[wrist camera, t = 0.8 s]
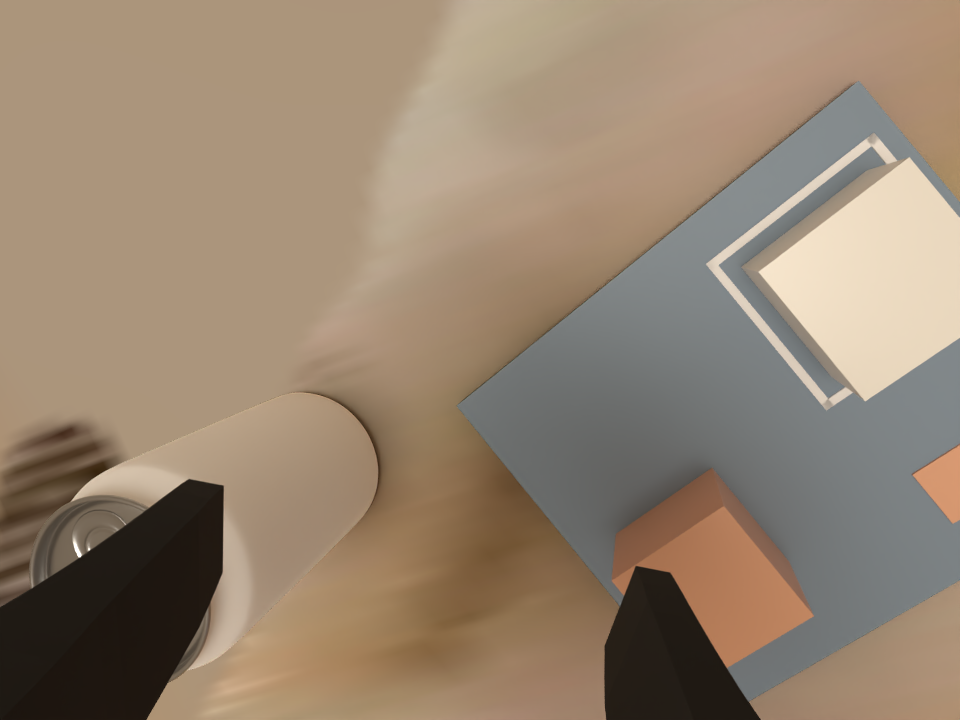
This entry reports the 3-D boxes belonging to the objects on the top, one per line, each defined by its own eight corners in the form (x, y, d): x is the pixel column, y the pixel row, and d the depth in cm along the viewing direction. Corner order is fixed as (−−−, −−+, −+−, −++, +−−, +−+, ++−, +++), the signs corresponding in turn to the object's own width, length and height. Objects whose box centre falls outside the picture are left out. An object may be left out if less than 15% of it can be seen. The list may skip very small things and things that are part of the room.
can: (344, 367, 30) (158, 447, 18) (406, 507, 30) (262, 671, 19) (220, 420, 32) (-22, 523, 20) (280, 553, 32) (77, 728, 21)
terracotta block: (789, 562, 27) (814, 616, 23) (689, 624, 28) (697, 685, 24) (712, 467, 27) (723, 505, 23) (615, 533, 28) (611, 580, 24)
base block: (962, 286, 24) (1023, 294, 20) (831, 376, 25) (865, 401, 22) (866, 170, 24) (909, 157, 20) (740, 267, 25) (758, 271, 22)
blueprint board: (1159, 452, 24) (1174, 459, 23) (712, 711, 29) (713, 723, 28) (853, 84, 24) (859, 80, 24) (460, 402, 29) (455, 406, 28)
